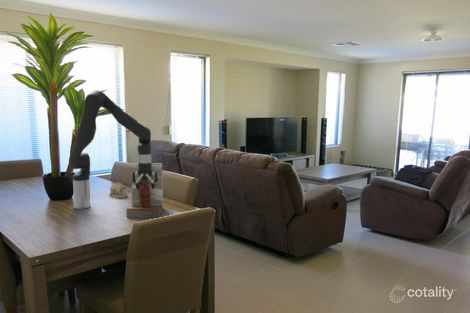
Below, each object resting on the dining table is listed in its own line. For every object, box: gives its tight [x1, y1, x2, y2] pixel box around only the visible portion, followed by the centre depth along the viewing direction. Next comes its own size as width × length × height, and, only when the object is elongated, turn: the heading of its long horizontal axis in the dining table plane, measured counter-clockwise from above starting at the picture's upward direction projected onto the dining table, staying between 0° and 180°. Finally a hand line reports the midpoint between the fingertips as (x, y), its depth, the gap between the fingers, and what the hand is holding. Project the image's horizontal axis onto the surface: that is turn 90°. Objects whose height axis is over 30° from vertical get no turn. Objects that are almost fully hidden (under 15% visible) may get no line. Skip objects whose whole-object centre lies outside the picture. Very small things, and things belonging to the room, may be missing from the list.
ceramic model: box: [108, 181, 128, 199], centre depth 249 cm, size 14×11×10 cm
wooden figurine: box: [139, 179, 151, 208], centre depth 211 cm, size 12×6×18 cm, turn 21°
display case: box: [126, 162, 164, 218], centre depth 210 cm, size 18×18×28 cm
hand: (145, 189), depth 211 cm, fingers open, 8 cm apart
